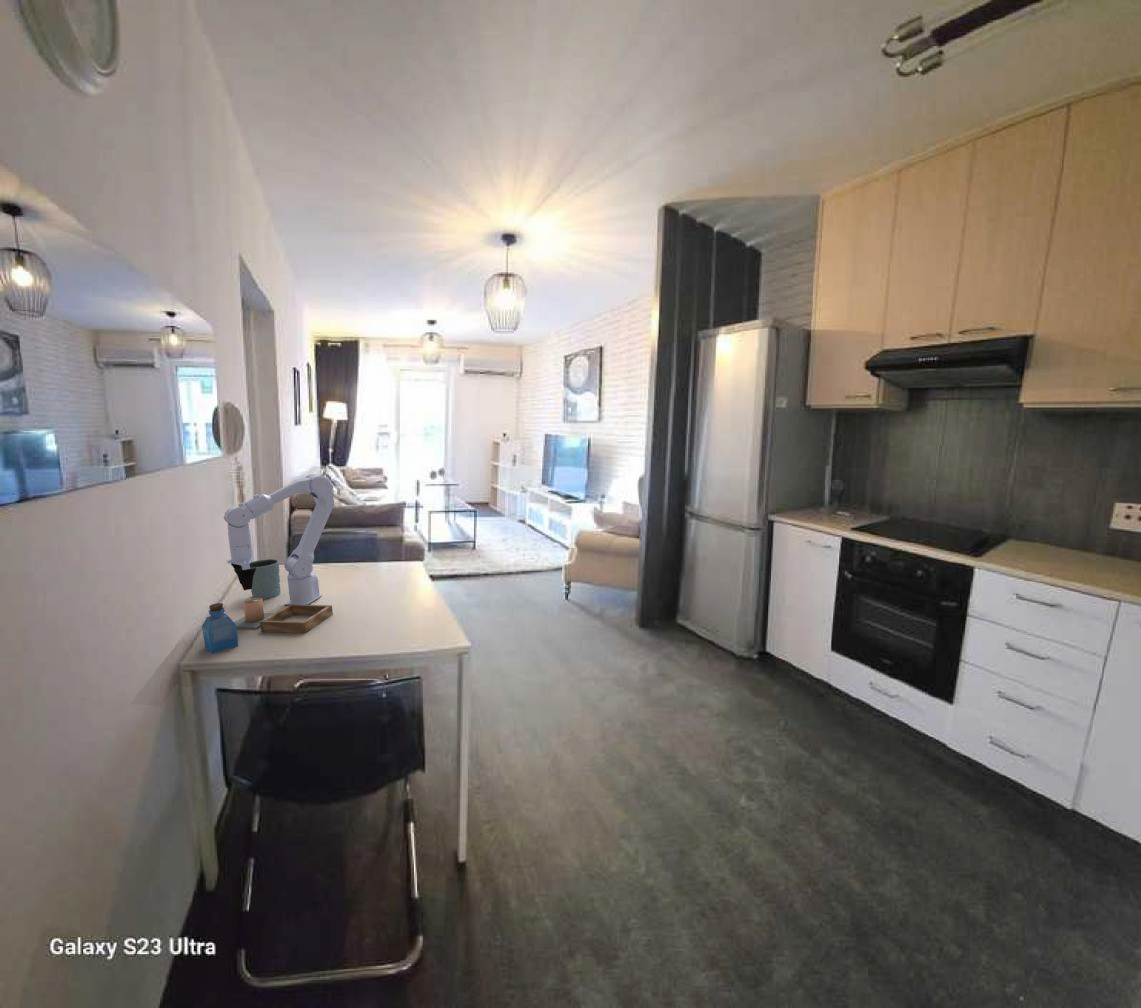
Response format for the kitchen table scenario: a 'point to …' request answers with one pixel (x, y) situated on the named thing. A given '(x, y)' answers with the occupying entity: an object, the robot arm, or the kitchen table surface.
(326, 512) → the robot arm
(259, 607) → the terracotta pot
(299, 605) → the wooden square frame
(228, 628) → the perfume bottle
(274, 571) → the green pot
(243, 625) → the slate mat
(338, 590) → the kitchen table surface
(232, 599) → the kitchen table surface
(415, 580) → the kitchen table surface
